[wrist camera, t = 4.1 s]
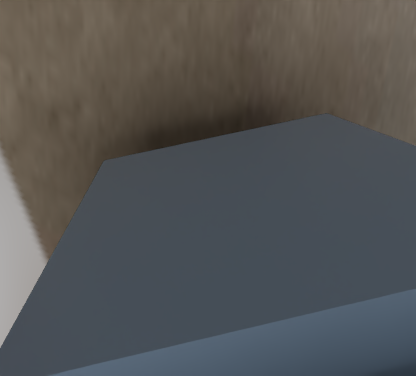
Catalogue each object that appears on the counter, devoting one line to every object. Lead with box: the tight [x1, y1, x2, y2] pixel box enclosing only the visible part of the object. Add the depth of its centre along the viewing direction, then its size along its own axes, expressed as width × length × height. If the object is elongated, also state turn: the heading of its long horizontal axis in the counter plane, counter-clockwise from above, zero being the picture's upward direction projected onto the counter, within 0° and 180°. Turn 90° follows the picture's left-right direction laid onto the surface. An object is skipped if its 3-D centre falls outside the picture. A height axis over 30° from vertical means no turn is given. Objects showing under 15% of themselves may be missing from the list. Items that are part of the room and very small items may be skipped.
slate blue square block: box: [0, 113, 416, 376], centre depth 9 cm, size 8×8×9 cm
